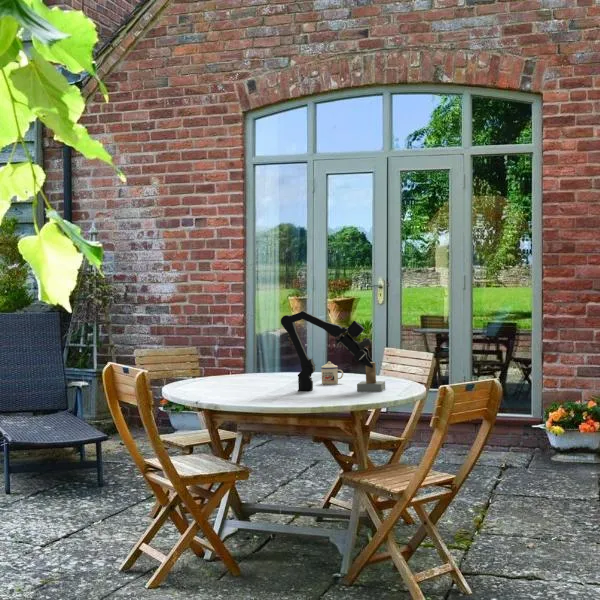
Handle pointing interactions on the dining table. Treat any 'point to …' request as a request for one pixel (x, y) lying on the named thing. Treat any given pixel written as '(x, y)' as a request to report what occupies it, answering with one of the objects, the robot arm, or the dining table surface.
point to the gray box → (371, 386)
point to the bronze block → (371, 373)
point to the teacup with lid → (330, 373)
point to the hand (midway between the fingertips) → (373, 366)
